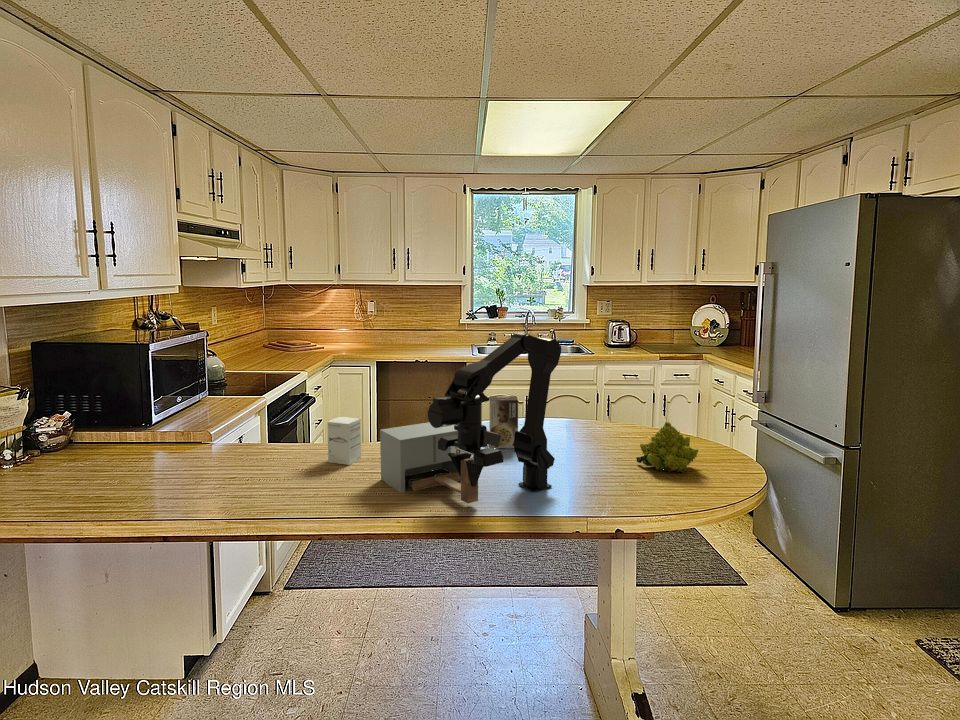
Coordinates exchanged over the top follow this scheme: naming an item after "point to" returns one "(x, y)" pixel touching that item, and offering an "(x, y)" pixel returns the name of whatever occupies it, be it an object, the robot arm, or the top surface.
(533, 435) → the robot arm
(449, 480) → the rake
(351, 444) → the supplement box
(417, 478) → the disc left
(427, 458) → the cabinet
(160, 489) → the top surface
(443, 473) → the disc right
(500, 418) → the coffee box
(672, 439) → the vegetable
